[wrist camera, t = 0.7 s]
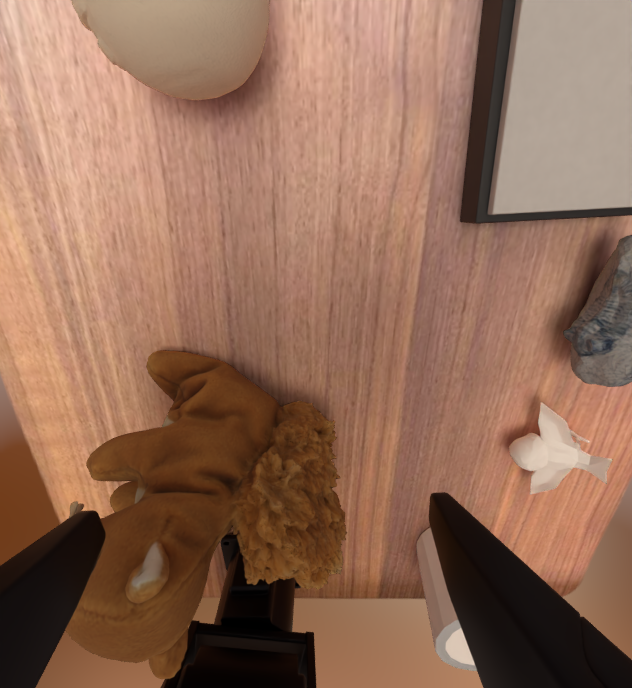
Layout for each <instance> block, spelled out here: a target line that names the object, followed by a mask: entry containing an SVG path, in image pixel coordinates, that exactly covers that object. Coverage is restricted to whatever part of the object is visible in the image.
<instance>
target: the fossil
mask: <svg viewBox="0 0 632 688" xmlns="http://www.w3.org/2000/svg"><path fill="white" fill-rule="evenodd" d="M563 334H564V336H565V338H566V339H567V340H569V341H570V342H571V350H570V351H571V367H572V370H573V372H574V373H575V374H576V376H577V377H578V378H580V379H581V380H582V381H583V382H585V383H588V384H597V385H603V386H607V387H615V386H624V385H626V384H629V383H630V382H632V235H630V236H626V237H624V238H622V239H620V240H619V243H618V246H617V248H616V250H615V251H614V252H613V254H612V256H611V257H610V259H609V260H608V262H607V264H606V266H605V267H604V269H603V270H602V271H601V273H600V275H599V277H598V279H597V280H596V281H595V284H594V286H593V288H592V290H591V292H590V294H589V299H588V300H587V303H586V305H585V306H584V308H583V309H582V311H581V312H580V314H579V316H578V318H577V319H576V320H575V321H574V322H573V323H572V325H571V328H569V329H567V330H564V331H563Z"/></svg>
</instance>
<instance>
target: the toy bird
mask: <svg viewBox="0 0 632 688" xmlns="http://www.w3.org/2000/svg"><path fill="white" fill-rule="evenodd" d="M538 426H539V429H540V436H539V435H537V434H536V433H529V434H527V435H526V436H523V437H520V438H518V439H515V440H514V441H513V442H512V443H511V445H510V446H509V453H510V455H511V457H512V459H513V460H514V461H515V463H516V464H517V465H518V466H519V467H521V468H523V469H525V470H528V471H534V472H533V473H532V475H531V488H530V495H531V494H535V493H539V492H543V491H547V490H551V489H556V487H557V486H558V485H559V484H560V482H561V481H562V480H563V479H564V477H565V476H566V475H567V474H568V473H569V472H570V471H571V470H572V469H573V468H574V467H575V468H579V469H583V470H587V471H588V472H590V473H591V474H593V475H594V476H596V477H597V478H598V479H600V480H601V481H603V482H604V483H605V484H607V470H608V468H609V466H610V464H611V462H612V460H613V459H609V458H603V457H597V456H591V455H589V454H587V453H585V452H584V451H582V450H581V448H580V441H579V440H582V441H585V442H588V443H590V441H588V440H587V439H585V438H583V437H581V436H579V435H578V434H576V433H575V432H573V431H572V430H570V429H569V427H568V424H567V421H565V420H564V419H563V418H562V417H560V416H559V415H558V414H556V413H555V412H554V411H553V410H551V409H550V408H549V407H547V406H546V405H545V404H544V403H542V402H541V407H540V413H539V418H538ZM572 436H573V437H575V438H576V442H577V443H576V442H573V439H572Z"/></svg>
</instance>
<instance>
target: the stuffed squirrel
mask: <svg viewBox="0 0 632 688" xmlns="http://www.w3.org/2000/svg"><path fill="white" fill-rule="evenodd" d="M146 367H147V370H148V373H149V375H150V376H151V377H152V379H153V380H154V381H155V382H156V384H157V385H158V386H159V387H160V388H161V389H162V390H163V391H164V392H165V393H166V394H167V395H169V396H170V397H171V398H172V399H173V401H174V403H173V405H172V407H171V408H170V410H169V412H168V415H167V417H166V419H165V421H164V423H163V425H162V427H160V428H154V429H150V430H146V431H139V432H134V433H129V434H125V435H121V436H118V437H115V438H113V439H111V440H109V441H107V442H105V443H104V444H102V445H101V446H100V447H98V448H97V449H96V450H95V451H94V452H93V453H92V454H91V455H90V457H89V458H88V460H87V463H86V465H87V468H88V469H89V472H90V474H91V477H92V478H93V479H94V480H98V481H132V482H128V483H125V484H123V485H121V486H120V487H118V488H117V489H116V490H115V491H114V492H113V494H112V495H111V497H110V504H111V507H112V508H113V510H114V512H115V513H113V514H111V515H109V516H107V517H105V518H101V519H100V520H101V522H102V524H103V527H104V529H105V533H106V536H105V541H104V544H103V546H102V549H101V551H100V554H99V556H98V558H97V561H96V563H95V566H94V568H93V570H92V573H91V575H90V578H89V580H88V582H87V585H86V587H85V589H84V592H83V594H82V597H81V599H80V601H79V603H78V605H77V608H76V610H75V612H74V614H73V616H72V618H71V620H70V622H69V623H68V625H67V627H66V629H65V631H66V632H67V633H68V634H69V636H70V637H71V638H72V639H73V640H74V641H75V642H76V643H78V644H79V645H80V646H82V647H83V648H84V649H85V650H87V651H89V652H91V653H93V654H96V655H98V656H101V657H104V658H107V659H113V660H118V661H124V662H134V663H138V662H143V661H145V660H147V659H149V665H150V668H151V670H152V672H153V674H154V675H155V676H156V677H157V678H160V679H170V678H172V677H174V676H175V674H176V673H177V671H179V670H180V668H181V662H182V661H183V659H184V656H185V652H186V650H187V640H188V626H189V625H190V623H191V621H192V619H193V616H194V615H195V612H196V610H197V608H198V606H199V603H200V601H201V598H202V596H203V592H204V588H205V585H206V581H207V576H208V572H209V566H210V562H211V559H212V556H213V553H214V551H215V549H216V547H217V545H218V543H219V542H220V540H221V539H222V538H223V537H224V536H225V535H226V534H227V533H228V532H229V531H230V530H231V528H232V527H234V531H233V533H234V534H235V535H236V534H237V533H238V532H239V531H240V533H239V534H238V535H237V539H238V542H239V546H240V552H241V553H242V555H243V562H244V570H245V577H246V579H247V584H251V583H252V584H253V585H256V584H257V583H258V581H259V579H262V580H263V581H264V579H266V582H267V584H270V583H272V582H273V581H276V580H278V579H279V578H280V579H283V580H285V579H286V578H287V579H290V578H294V579H295V580H296V582H297V583H298V584H299V586H301V587H303V588H306V589H309V588H316V589H320V588H321V587H323V584H324V585H325V584H327V583H328V582H327V580H328V576H329V573H330V574H335V573H336V574H337V573H339V574H342V573H341V570H342V567H341V566H343V556H342V551H341V545H342V544H341V540H346V538H345V535H346V534H347V532H346V527H345V526H346V525H345V523H344V522H345V512H344V511H343V510H342V509H341V508H340V507H341V505H340V503H339V498H338V495H337V494H336V493H335V492H334V491H333V490H332V488H333V487H336V486H337V484H336V482H335V478H336V479H338V478H340V476H338V475H337V470H336V468H335V467H334V463H333V462H332V461H331V460H332V459H336V456H335V455H334V454H333V453H332V449H331V448H330V447H331V446H332V444H331V443H332V442H333V441H334V440H335V439H336V438H337V437H335V431H334V430H333V429H334V428H335V427H334V426H335V425H334V423H335V421H334V420H333V422H332V421H328V420H327V419H326V418H325V417H323V416H322V414H320V411H318V410H316V409H315V408H314V407H313V403H306V402H303V401H298V402H294V403H293V402H292V403H290V404H287V405H284V406H279V404H278V402H277V401H276V400H275V399H274V398H273V397H271V396H270V395H269V394H267V393H266V392H265V391H263V390H262V389H261V388H259V387H258V386H257V385H255V384H254V383H252V382H251V381H250V380H248V379H247V378H245V377H244V376H243V375H241V374H240V373H239V372H238V371H237V370H235V369H234V368H233V367H232V366H231V365H229V364H227V363H226V362H223V361H220V360H216V359H213V358H209V357H206V356H201V355H198V354H193V353H186V352H180V351H166V350H160V351H156V352H153V353H152V354H151V355H150V356H149V358H148V362H147V366H146ZM83 507H84V504H78V502H77V501H76V502H73V503H72V504H71V505H70V516H69V518H70V517H72V516H73V515H74V514H75V513H78V512H80V511H81V510H82V509H83Z"/></svg>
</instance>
